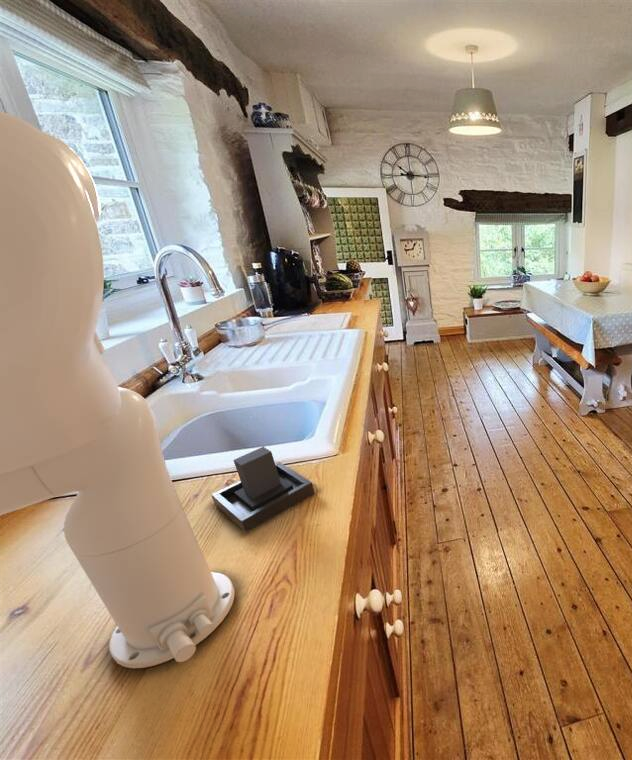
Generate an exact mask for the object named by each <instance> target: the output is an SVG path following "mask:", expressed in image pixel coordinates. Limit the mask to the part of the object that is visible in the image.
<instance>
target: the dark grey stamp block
mask: <svg viewBox="0 0 632 760" xmlns="http://www.w3.org/2000/svg"><path fill="white" fill-rule="evenodd" d="M233 463H234V466H235V469H236V472H237V475H238V477H239V481H240V480H241V483H242V486H243V488H242V489H240V490H238V491H236V492H234V493H235V496H236V498H237V499H238V500H240V501H241V502H242V503H243V504H244V505H246V506H247V507H248V508H249V509H251V510H252V511H255V510H256V509H258V508H260V507H262V506H264V505H266V504H267V503H269V502H271V501H273V500H275V499H276V498H278V497H280V496H282V495H284V494H286V493H287V492H289V491H291V490H293V486H292V485H291V484H290V483H288V482H287V481H285V480H284V479H282V478H281V477H279V475H278V472H277V468H276V465H275V463H276V462H275V459H274V455H273V453H272V450H269V449H268V448H266V447H265V446H262V447H259V448H257V449H255V450H252V451H250V452H248V453H245V454H244V455H241V456H239V457H237V458H235V459H233Z"/></svg>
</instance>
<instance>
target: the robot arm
mask: <svg viewBox="0 0 632 760" xmlns="http://www.w3.org/2000/svg"><path fill="white" fill-rule="evenodd" d="M100 217H101V203H100V198H99V194H98V191H97V187H96V184H95V182H94V179H93V177H92V175H91V173H90V171H89V169H88V168H87V166H86V165H85V162H84V161H83V160H82V159H81V157H80V156H79V155H78V154H77V152H76V151H75V150H73V148H71V147H70V145H68V144H66V143H65V142H64V141H63V140H61V139H59V138H58V137H55V136H53V135H52V134H49V133H47V132H45V131H42V130H40V129H39V128H37V127H36V126H34V125H32V124H31V123H29V122H28V121H26V120H24V119H22V118H19V117H17V116H14V115H12V114H9V113H7V112H5V111H2V110H0V516H3V515H6V514H8V513H12V512H15V511H17V510H20V509H23V508H26V507H29V506H32V505H36V504H38V503H42V502H45V501H47V500H50V499H53V498H57V497H61V496H64V495H67V494H71V493H74V492H77V494H76V496H75V497H74V499H73V501H72V503H71V505H70V506H69V509H68V511H67V513H66V516H65V519H64V523H63V534H64V538H65V541H66V543H67V545H68V546H69V549H70V550H71V551H72V553H73V555H74V557H75V558H76V560H77V561H78V563H79V565H80V566H81V568H82V570H83V571H84V573H85V575H86V576H87V578H88V580H89V582H90V583H91V585H92V586H93V588H94V589H95V592H96V593H97V595H98V596H99V598H100V599H101V602H102V603H103V605H104V606H105V608H106V609H107V612H108V614H109V615H110V616H111V618H112V620H113V621H114V623H115V625H116V626H115V628H114V630H113V632H112V633H111V636H110V639H109V643H108V647H109V653H110V655H111V657H112V658H113V660H114V661H115V663H116V664H118V665H119V666H121V667H123V668H127V669H144V668H149V667H153V666H157V665H160V664H163V663H166V662H169V661H170V660H173V659H174V660H175V662H176V663H183V662H186V661H188V660H189V659H191V658H192V657H193V656H194V654H195V652H196V651H197V645H199V643H201V642H202V641H204V640H205V639H206V638H207V637H209V635H210V634H212V633H213V632H214V631H215V630H216V629H217V628H218V626H219V625H220V624H221V623H222V622H223V621H224V619H225V618H226V617H227V615H228V614H229V612H230V610H231V608H232V606H233V604H234V600H235V588H234V585H233V582H232V581H231V579H230V578H229V577H228V576H227V575H226V574H223V573H220V572H216V571H211V569H210V567H209V564H208V563H207V560H206V558H205V556H204V553H203V550H202V548H201V546H200V544H199V541H198V540H197V537H196V535H195V533H194V530H193V528H192V525H191V523H190V521H189V518H188V516H187V514H186V512H185V510H184V507H183V505H182V503H181V500H180V498H179V496H178V493H177V491H176V489H175V485H174V483H173V480H172V478H171V475H170V472H169V470H168V467H167V464H166V463H167V462H166V460H165V456H164V452H163V449H162V444H161V439H160V438H161V437H160V434H159V429H158V424H157V421H156V417H155V414H154V412H153V409H152V407H151V405H150V403H149V402H148V400H146V399H145V397H143V395H141V394H140V393H138V392H136V391H134V390H132V389H129V388H125V387H119V386H118V383H117V382H116V379H115V377H114V376H113V373H112V372H111V370H110V368H109V366H108V365H107V363H106V360H105V359H104V357H103V355H104V354H105V352H106V349H105V348H104V346H103V343H102V341H101V339H100V337H99V335H98V334H97V331H96V330H97V325H98V322H99V318H100V315H101V311H102V306H103V305H102V304H103V299H104V298H103V297H104V287H105V285H104V284H105V279H104V278H105V273H104V271H105V270H104V257H103V249H102V244H101V238H100V233H99V228H98V224H97V223H99V221H100Z"/></svg>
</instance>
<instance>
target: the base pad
mask: <svg viewBox="0 0 632 760" xmlns="http://www.w3.org/2000/svg"><path fill="white" fill-rule="evenodd" d="M275 465H276V468H277V472H278V475H279V477H281V478H282V479H284V480H285V481H287V482H288V483H290V484H291V485H292V486H293V490H291V491H289V492H287V493H286V494H284V495H282V496H280V497H278V498H276V499H275V500H273V501H271V502H269V503H267V504H266V505H264V506H262V507H260V508H258V509H256V510H255V511H252V510H251V509H249V508H248V507H247V506H246V505H244V504H243V503H242V502H241V501H240V500H238V499H237V498H236V496H235V493H234V492H236V491H238V490H240V489H242V488H243V486H242V483H241V480H240V479H239V480H238V481H235V482H234V483H232V484H230V485H228V486H226V487H223V488H222V489H220V490H218V491H216V492H213V493H211V494H210V495H211V498H212V501H213V504H214V505H215V506H216V507H217V508H218V509H219V510H220V511H221V512H222V513H223V514H225V515H226V516H227V518H229V519H230V520H231V521H232V522H234V524H236V525H237V526H238V527H239V528H240V529H241V530H242V531H244V533H247V532H249V531H251V530H252V529H254V528H256V527H257V526H259V525H261V524H263V523H264V522H266V521H268V520H269V519H271V518H274V516H275V517H276V516H277V515H279V514H280V513H282V512H283V511H286V510H287V509H289V508H291V507H292V506H294V505H295V504H297V503H299V502H301V501H303V500H304V499H306V498H308V497H309V496H311V495H313V494H315V490H314V485H313V482H312V481H311V480H309V479H307V478H305V477H304V476H303V475H301V474H299V473H297V472H296V471H295V470H293V469H291V468H290V467H288V466H287V465H285V464H283V463H282V462H281V461H277V462H275Z"/></svg>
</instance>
